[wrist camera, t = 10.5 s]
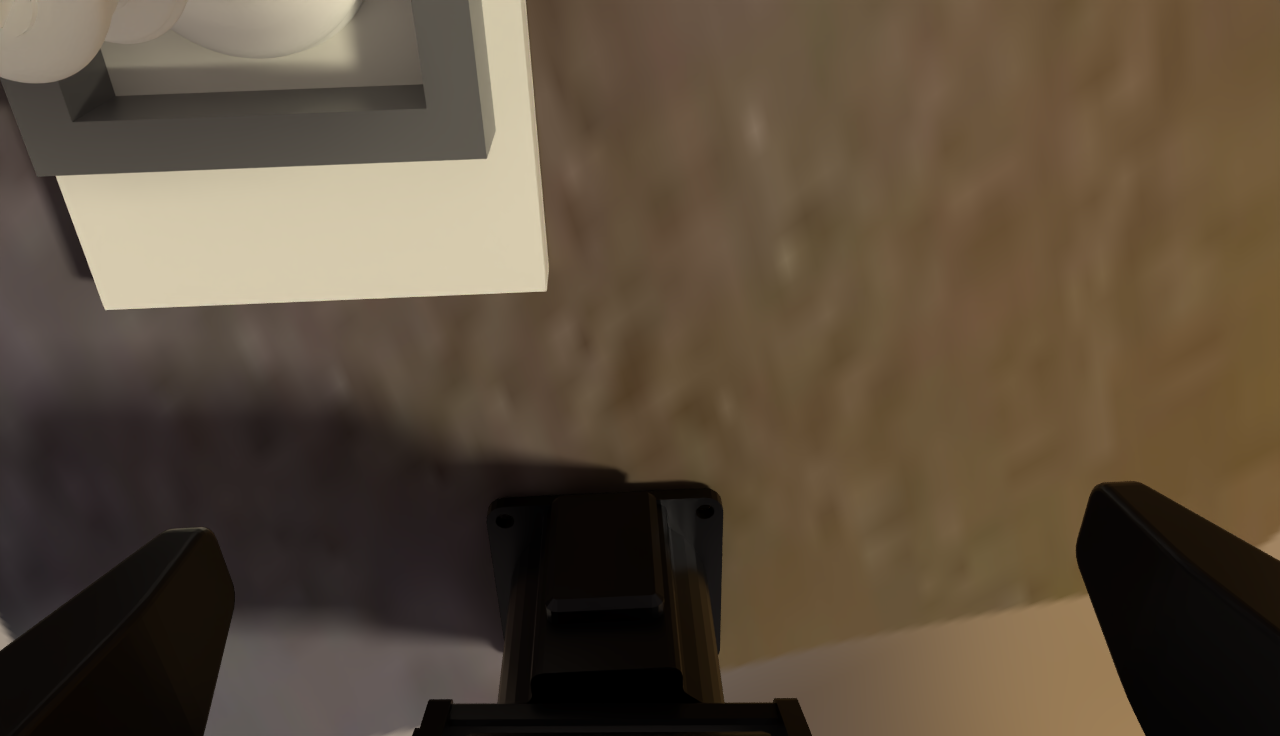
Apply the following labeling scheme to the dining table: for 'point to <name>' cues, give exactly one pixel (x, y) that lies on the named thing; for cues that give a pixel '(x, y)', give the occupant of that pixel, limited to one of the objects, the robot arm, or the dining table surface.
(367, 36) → the board
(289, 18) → the chess piece
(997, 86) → the dining table surface
